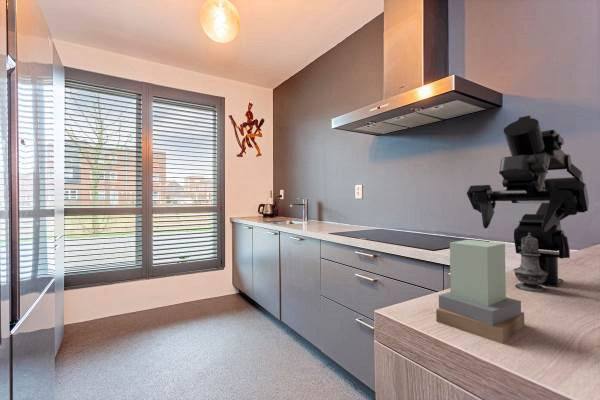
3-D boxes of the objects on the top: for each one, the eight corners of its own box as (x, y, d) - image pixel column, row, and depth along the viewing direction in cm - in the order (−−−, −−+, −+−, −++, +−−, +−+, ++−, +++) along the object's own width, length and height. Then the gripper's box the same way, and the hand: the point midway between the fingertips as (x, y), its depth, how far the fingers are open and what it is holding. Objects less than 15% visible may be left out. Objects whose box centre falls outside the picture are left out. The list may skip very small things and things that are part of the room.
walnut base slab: (462, 311, 51) (462, 297, 51) (524, 329, 44) (524, 312, 44) (436, 325, 45) (436, 309, 45) (502, 347, 38) (502, 329, 38)
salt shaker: (555, 293, 58) (554, 233, 58) (521, 291, 59) (520, 233, 59) (538, 285, 63) (538, 231, 64) (508, 283, 65) (507, 230, 65)
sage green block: (468, 289, 49) (468, 239, 49) (505, 298, 44) (505, 243, 44) (450, 295, 46) (449, 242, 46) (488, 306, 41) (487, 247, 41)
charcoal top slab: (467, 298, 50) (467, 287, 50) (521, 314, 43) (520, 300, 43) (438, 307, 46) (438, 295, 46) (492, 326, 39) (492, 311, 39)
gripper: (469, 150, 65) (446, 199, 58) (584, 134, 50) (572, 197, 43) (483, 185, 70) (464, 234, 63) (593, 181, 55) (583, 244, 48)
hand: (512, 228), depth 54 cm, fingers open, 9 cm apart
